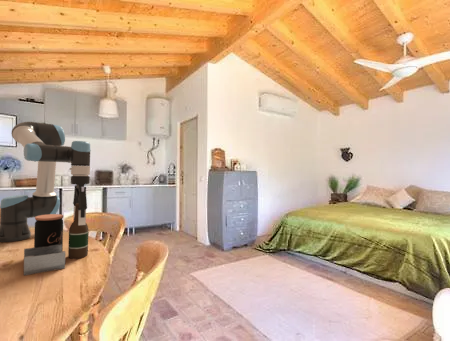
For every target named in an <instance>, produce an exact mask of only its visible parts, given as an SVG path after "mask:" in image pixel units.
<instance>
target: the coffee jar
mask: <svg viewBox="0 0 450 341" xmlns="http://www.w3.org/2000/svg"><path fill="white" fill-rule="evenodd" d="M63 218H64V214H58V213H56V214H48V215H40V216H36V217H34V219H35V222H34V238H33V239H34V243H33V244H34V245H33V248H35V247H42V246H50V245H58V244H62V251H64V250H63V244H64V243H63V242H64V241H63V240H64V234H63V233H64V219H63Z"/></svg>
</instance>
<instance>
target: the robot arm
mask: <svg viewBox="0 0 450 341" xmlns="http://www.w3.org/2000/svg"><path fill="white" fill-rule="evenodd" d="M11 137H12V138H13V140H14V141H15V142H17V143H18V144H20V145H21V146H22V147H23V158H24V160H26V161H28V162H29V161H30V162H37V173H36V174H37V175H36V186H35V191H34V192H33V193H32V194H31V195H32V196H29V195H28V194H18V195H11V196H6V197H3V198H2V199H1V200H0V243H10V242H19V241H23V240H26V239H30V238H31V232H32V231H31V230H30V228H29V225H28V219H31V218H35V217H36V216H40V215H48V214H58V211H59V209H60V204H61V202H60V201H61V200H60V197H59V196H58V195H57V192H55V180H56V168H57V163H68V164H70V168H69V170H70V175H71V176H70V184H71V185H74V193H73V200H72V201H73V202H72V204H73V218H74V217H75V207H76V206H75V204H76V203H79V208H78V210H79V216H78V225H86V224H87V220H86V219H87V209H88V205H87V204H88V202H87V187H86V186H85V185H89V184H91V183H90V180H91V179H90V178H91V177H90V176H89V175H91V151H92V150H91V143H90V142H88V141H84V140H73V141H72V142H71V146H67V145H65V142H66V134H65V131H64V128H63V127H62V126H61V125H57V124H52V123H46V122H45V123H43V122H35V121H23V122H22V121H21V122H20V123H17V124H16V125H15V126H13V127H12V129H11Z"/></svg>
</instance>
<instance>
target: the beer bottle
mask: <svg viewBox="0 0 450 341" xmlns="http://www.w3.org/2000/svg"><path fill="white" fill-rule="evenodd" d="M75 206H76V207H75V217H74V216H73V221H72V222H71V225H70V226H69V229H68V248H67V251H68V254H67V256H68V257H69V259H71V260H73V259H76V260H78V259H79V260H80V259H82V258H86V257H87V256H88V253H89V226H88V224H87V223H86V225H78V216H79V210H78V208H79V203H76V204H75Z"/></svg>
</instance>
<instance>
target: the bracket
mask: <svg viewBox="0 0 450 341" xmlns="http://www.w3.org/2000/svg"><path fill="white" fill-rule="evenodd" d="M65 268H66V250H62V244H58V245H50V246H42V247H35V248H34V247H28V248H24V250H23V276H28V275H35V274H39V273H40V274H41V273H46V272H51V271H57V270H62V269H65Z"/></svg>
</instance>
